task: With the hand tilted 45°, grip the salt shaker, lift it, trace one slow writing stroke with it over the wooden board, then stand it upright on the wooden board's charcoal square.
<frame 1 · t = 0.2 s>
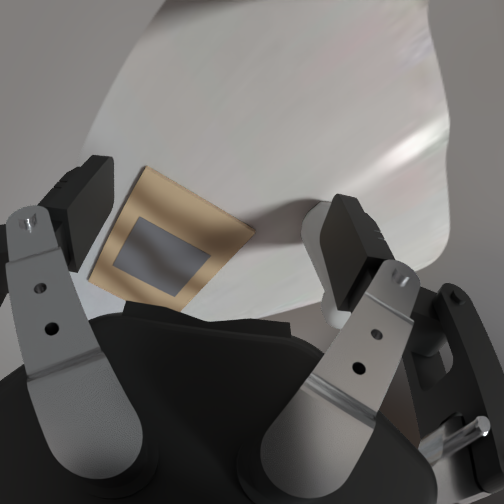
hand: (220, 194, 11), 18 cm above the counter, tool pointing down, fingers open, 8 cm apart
salt shaker: (325, 216, 33), on the counter
wooden board: (159, 257, 37), on the counter
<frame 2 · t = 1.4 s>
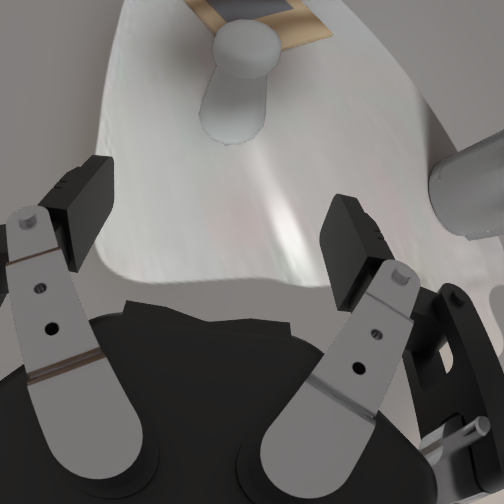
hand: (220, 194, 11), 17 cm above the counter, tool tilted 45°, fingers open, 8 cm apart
salt shaker: (229, 126, 29), on the counter
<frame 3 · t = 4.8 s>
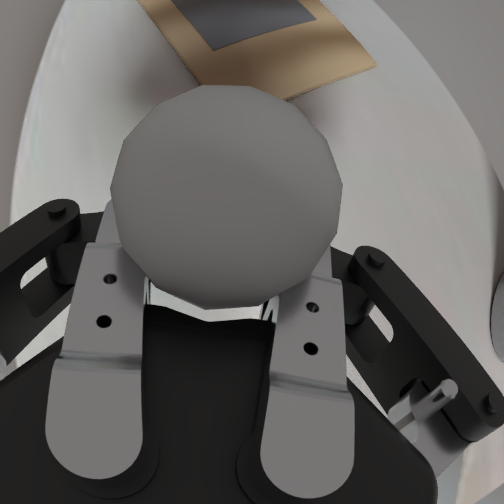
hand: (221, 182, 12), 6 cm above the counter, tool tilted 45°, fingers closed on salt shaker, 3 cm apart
salt shaker: (209, 251, 18), on the counter, touching gripper
wooden board: (236, 2, 20), on the counter
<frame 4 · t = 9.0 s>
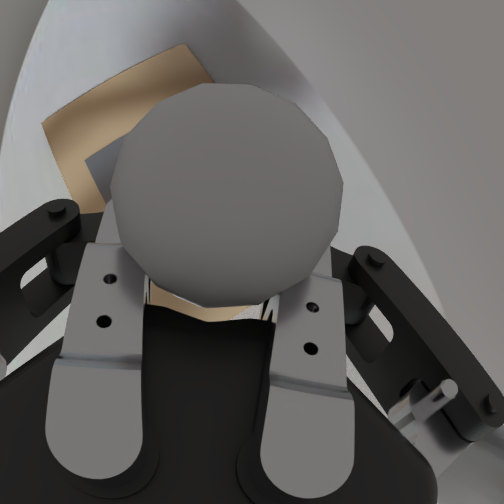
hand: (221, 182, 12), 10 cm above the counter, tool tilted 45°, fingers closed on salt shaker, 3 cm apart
salt shaker: (209, 250, 18), point 3 cm above the counter, touching gripper
wooden board: (168, 179, 21), on the counter
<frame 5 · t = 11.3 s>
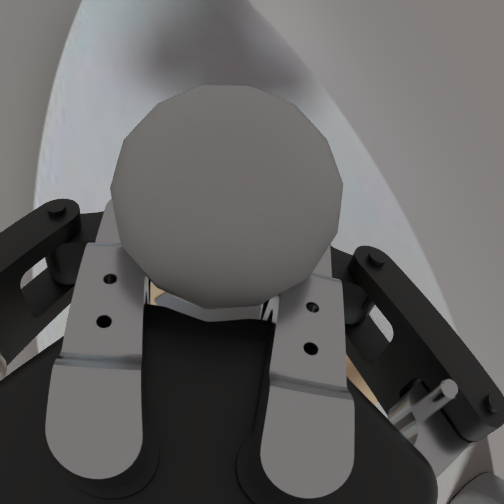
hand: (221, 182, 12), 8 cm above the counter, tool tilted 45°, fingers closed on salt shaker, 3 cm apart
salt shaker: (209, 250, 18), point 2 cm above the counter, touching gripper
wooden board: (255, 323, 20), on the counter
when the fingers open (8 cm above the counter, at t = 13.4 s): salt shaker stays where it is, resting on wooden board.
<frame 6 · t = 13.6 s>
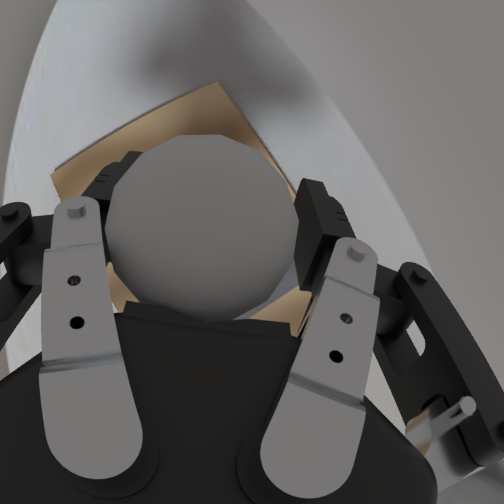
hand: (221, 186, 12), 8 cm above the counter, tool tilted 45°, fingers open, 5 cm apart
salt shaker: (199, 262, 19), resting on wooden board
wooden board: (208, 253, 20), on the counter
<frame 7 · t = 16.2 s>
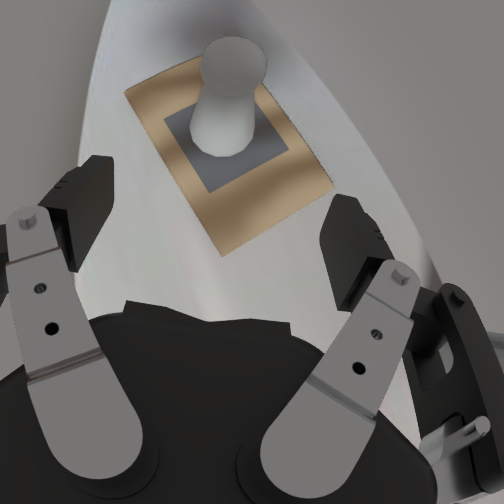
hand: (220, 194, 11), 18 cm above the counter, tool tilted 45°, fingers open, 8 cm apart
salt shaker: (220, 138, 30), resting on wooden board
wooden board: (225, 135, 30), on the counter
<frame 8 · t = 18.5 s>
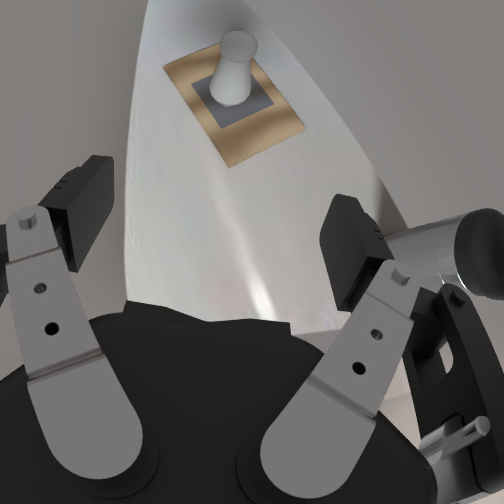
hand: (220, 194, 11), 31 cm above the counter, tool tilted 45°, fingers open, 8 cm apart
salt shaker: (228, 96, 44), resting on wooden board
wooden board: (232, 95, 44), on the counter
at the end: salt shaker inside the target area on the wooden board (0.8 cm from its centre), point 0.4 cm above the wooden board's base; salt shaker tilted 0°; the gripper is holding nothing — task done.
